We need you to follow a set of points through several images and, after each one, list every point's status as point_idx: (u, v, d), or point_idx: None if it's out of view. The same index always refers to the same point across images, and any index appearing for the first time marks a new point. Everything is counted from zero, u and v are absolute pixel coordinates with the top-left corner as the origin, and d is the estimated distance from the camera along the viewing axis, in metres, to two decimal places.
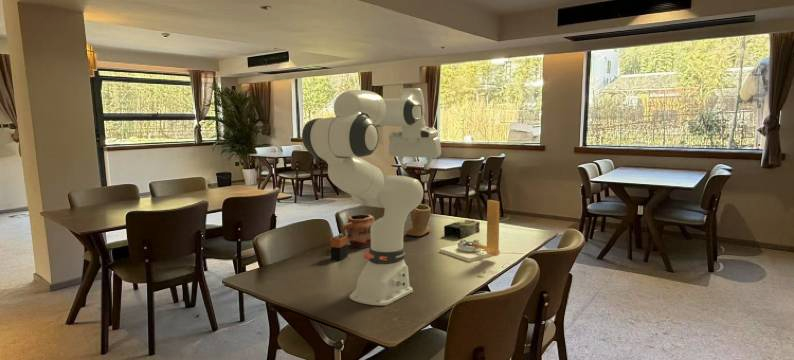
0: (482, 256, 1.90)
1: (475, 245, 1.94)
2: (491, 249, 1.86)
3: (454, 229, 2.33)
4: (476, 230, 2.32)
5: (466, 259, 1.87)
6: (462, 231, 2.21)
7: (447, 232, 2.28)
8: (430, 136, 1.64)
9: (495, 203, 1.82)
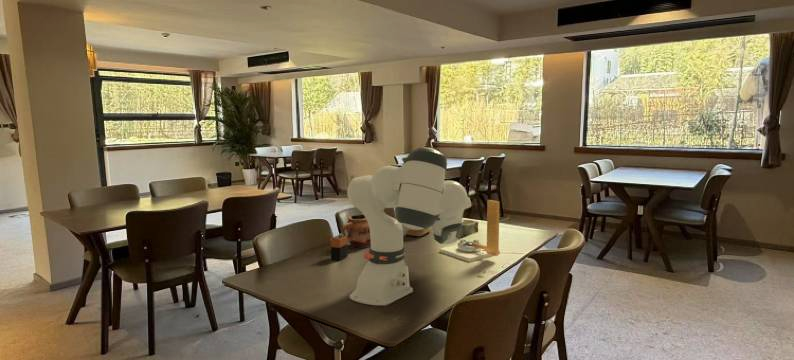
0: (482, 256, 1.90)
1: (475, 245, 1.94)
2: (491, 249, 1.86)
3: None
4: (475, 230, 2.32)
5: (466, 259, 1.87)
6: None
7: None
8: None
9: (495, 203, 1.82)
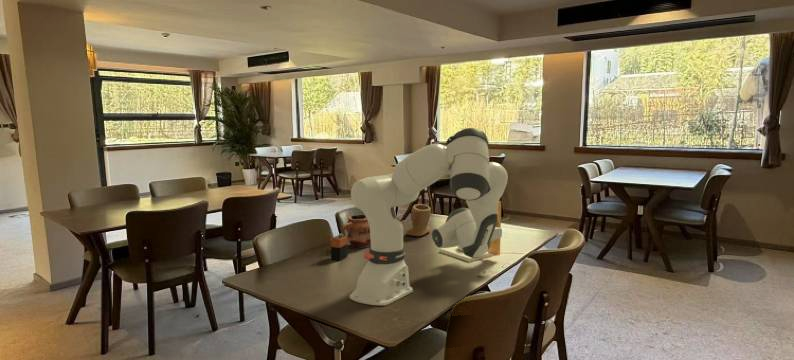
0: (482, 256, 1.90)
1: None
2: (493, 249, 1.87)
3: None
4: None
5: (466, 259, 1.87)
6: None
7: None
8: None
9: None
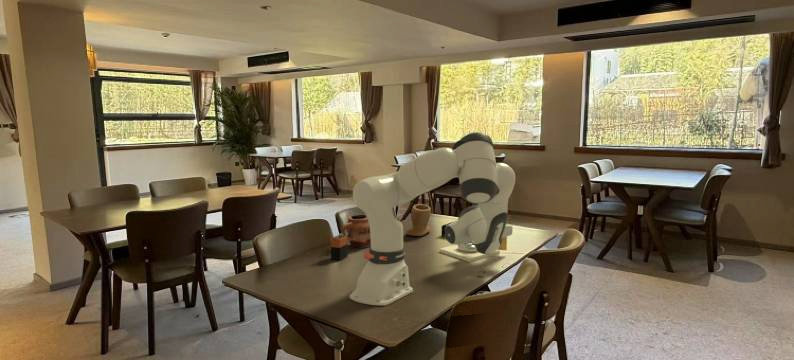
0: (482, 256, 1.90)
1: None
2: (501, 244, 1.93)
3: None
4: None
5: (466, 259, 1.87)
6: None
7: (444, 232, 2.29)
8: None
9: None
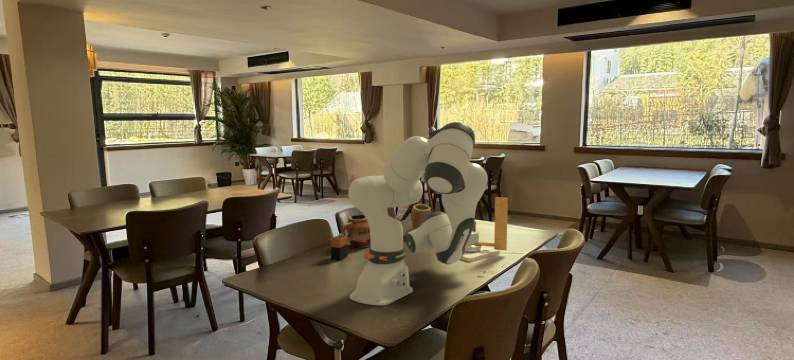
0: (482, 256, 1.90)
1: (479, 244, 1.96)
2: (501, 244, 1.93)
3: None
4: None
5: (466, 259, 1.87)
6: None
7: None
8: None
9: (505, 200, 1.90)
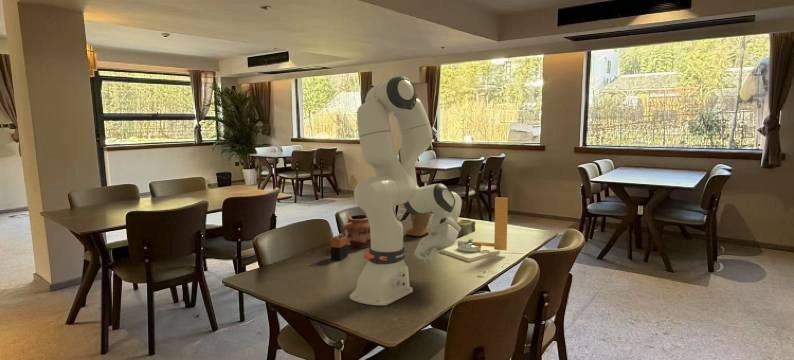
0: (482, 256, 1.90)
1: (479, 244, 1.96)
2: (501, 244, 1.93)
3: None
4: (472, 229, 2.33)
5: (466, 259, 1.87)
6: None
7: None
8: (446, 220, 1.58)
9: (505, 200, 1.90)
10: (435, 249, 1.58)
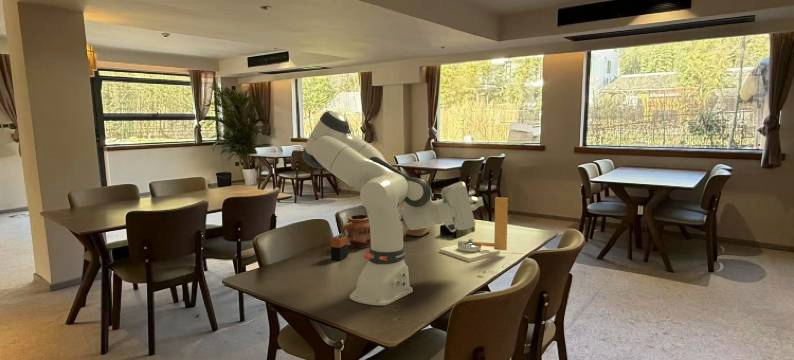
0: (482, 256, 1.90)
1: (479, 244, 1.96)
2: (501, 244, 1.93)
3: None
4: (471, 229, 2.33)
5: (466, 259, 1.87)
6: (458, 230, 2.22)
7: (442, 232, 2.29)
8: None
9: (505, 200, 1.90)
10: None
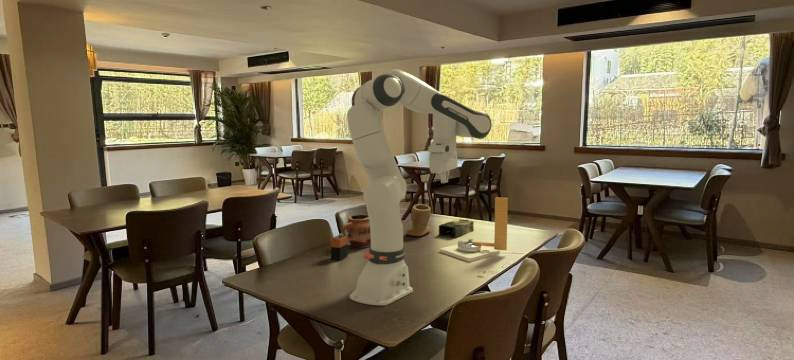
0: (482, 256, 1.90)
1: (479, 244, 1.96)
2: (501, 244, 1.93)
3: (448, 228, 2.35)
4: (470, 229, 2.34)
5: (466, 259, 1.87)
6: (457, 230, 2.22)
7: (441, 231, 2.29)
8: None
9: (505, 200, 1.90)
10: (441, 172, 1.73)
